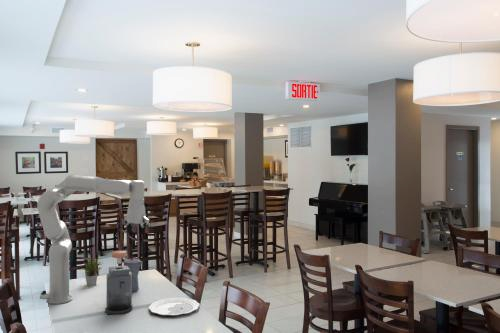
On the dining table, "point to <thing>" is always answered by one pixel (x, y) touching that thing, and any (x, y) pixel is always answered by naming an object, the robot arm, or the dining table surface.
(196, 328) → the dining table surface
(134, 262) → the moka pot
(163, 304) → the plate
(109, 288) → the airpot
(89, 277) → the house plant
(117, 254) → the pink rounded piece
